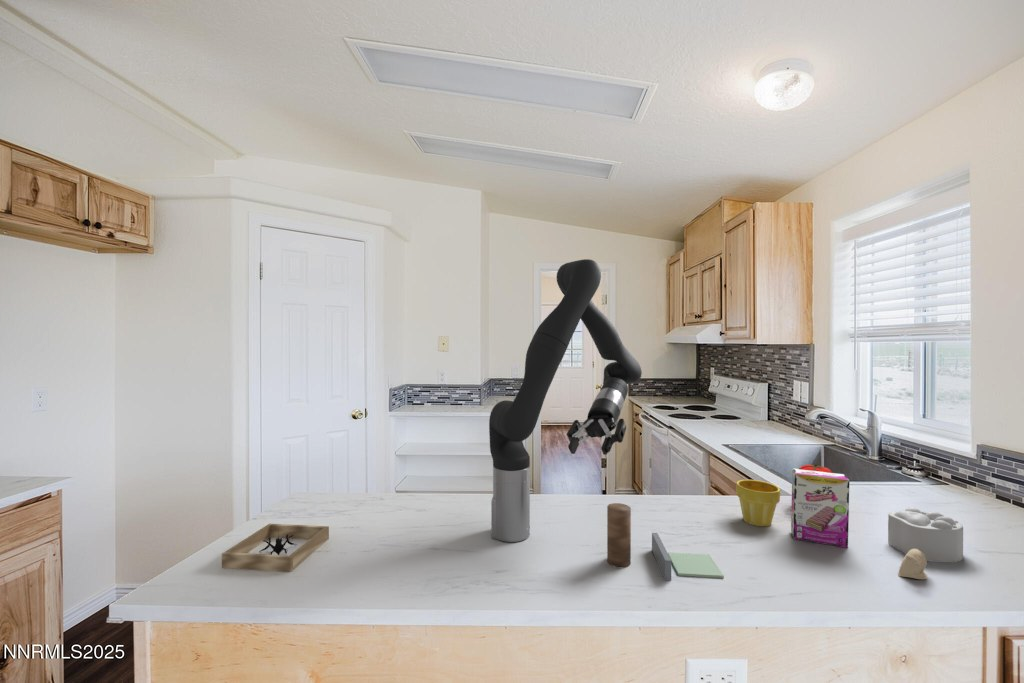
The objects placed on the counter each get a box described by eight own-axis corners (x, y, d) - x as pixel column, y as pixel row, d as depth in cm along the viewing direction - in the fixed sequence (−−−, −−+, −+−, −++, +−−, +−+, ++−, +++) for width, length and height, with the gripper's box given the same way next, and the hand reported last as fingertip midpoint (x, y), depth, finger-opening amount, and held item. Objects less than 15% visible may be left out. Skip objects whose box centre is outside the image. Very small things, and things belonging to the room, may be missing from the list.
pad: (678, 575, 92) (678, 573, 92) (667, 554, 101) (667, 552, 101) (723, 578, 91) (723, 575, 91) (709, 556, 100) (709, 554, 100)
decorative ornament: (929, 573, 93) (929, 547, 93) (921, 586, 88) (922, 559, 88) (904, 565, 96) (904, 540, 96) (895, 578, 91) (895, 552, 91)
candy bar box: (793, 540, 108) (793, 473, 108) (790, 532, 113) (790, 467, 113) (849, 549, 103) (850, 479, 103) (844, 540, 108) (844, 473, 108)
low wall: (665, 579, 90) (665, 560, 90) (651, 549, 103) (651, 532, 103) (671, 580, 90) (671, 560, 90) (657, 550, 103) (657, 532, 103)
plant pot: (788, 529, 114) (789, 491, 114) (748, 529, 114) (748, 491, 114) (765, 514, 124) (765, 479, 124) (728, 514, 124) (728, 479, 124)
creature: (259, 554, 103) (257, 561, 96) (259, 530, 104) (258, 535, 97) (297, 547, 107) (297, 553, 100) (297, 523, 108) (297, 528, 101)
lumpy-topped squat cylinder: (881, 540, 108) (881, 504, 108) (937, 541, 108) (937, 506, 108) (917, 561, 98) (917, 522, 98) (979, 563, 97) (980, 523, 97)
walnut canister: (608, 567, 95) (608, 511, 95) (606, 555, 100) (606, 502, 100) (632, 568, 95) (632, 512, 95) (628, 556, 100) (628, 503, 100)
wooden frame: (221, 567, 95) (221, 553, 95) (269, 535, 110) (269, 523, 110) (290, 571, 93) (290, 557, 93) (328, 538, 109) (328, 526, 109)
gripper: (577, 398, 120) (555, 439, 108) (627, 395, 112) (610, 439, 100) (587, 420, 123) (566, 462, 111) (636, 418, 115) (620, 464, 103)
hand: (587, 451), depth 106 cm, fingers open, 8 cm apart
